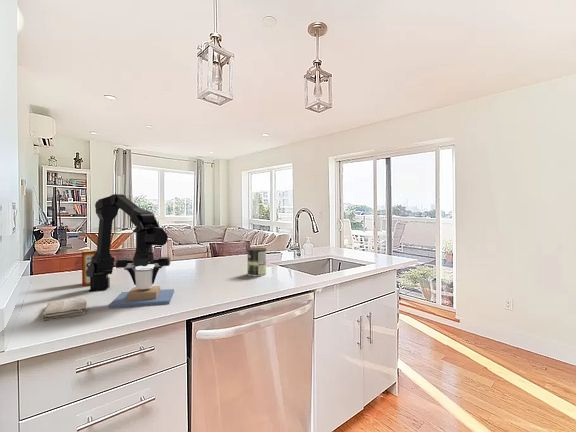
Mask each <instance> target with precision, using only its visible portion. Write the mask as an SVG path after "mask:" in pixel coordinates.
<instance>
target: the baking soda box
mask: <svg viewBox="0 0 576 432" xmlns="http://www.w3.org/2000/svg"><path fill="white" fill-rule="evenodd" d="M96 252H97V249H90V250H89V249H88V250H86V249H85V250H81V276H82V277H81V278H82V279H81V282H82V283H81V285H82V287H88V286H89V287H90V277H88V276H86V270H87V269H88V267H89V265H90V264H91V259H92V257H93V256H94V254H95V253H96Z"/></svg>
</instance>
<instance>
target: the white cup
mask: <svg viewBox="0 0 576 432" xmlns="http://www.w3.org/2000/svg"><path fill="white" fill-rule="evenodd" d="M134 272H135V281H136V285H135V287H136V288H137V289H148V288H151V287H152V286H153V284H152V278H153V267H152V268H150V267H149V268H148V267H146V268H145V267H144V268H136V270H134Z"/></svg>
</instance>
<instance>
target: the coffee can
mask: <svg viewBox="0 0 576 432" xmlns="http://www.w3.org/2000/svg"><path fill="white" fill-rule="evenodd" d="M246 275H247V276H249V277H264V276H266V275H267V248H266V247H249V248H247V274H246Z"/></svg>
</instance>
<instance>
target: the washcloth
mask: <svg viewBox="0 0 576 432" xmlns="http://www.w3.org/2000/svg"><path fill="white" fill-rule="evenodd" d="M87 301H88V300H87V297H86V296H85V297H75V298H73V299H67V300H66V299H65V300H56V301H50V302H48V303H47V305H46V306H45V307H44V310H43V312H42V313H41V321H42V322H44V321H54V320H59V319H60V320H61V319H66V318H74V317H81V316H83V315H85V313H86V312H87Z"/></svg>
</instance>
